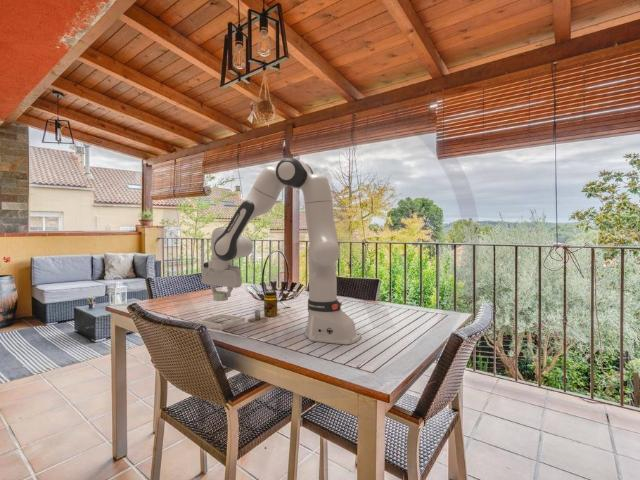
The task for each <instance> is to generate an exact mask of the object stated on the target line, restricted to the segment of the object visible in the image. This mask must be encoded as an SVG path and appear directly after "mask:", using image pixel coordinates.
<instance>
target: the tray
mask: <svg viewBox="0 0 640 480" xmlns="http://www.w3.org/2000/svg"><path fill="white" fill-rule="evenodd" d="M219 319H229V320H231V321H229V322H225V323H223V324H222V323H217V322H212V321H214V320H219ZM243 322H246V317H244V316H238V315H234V314H233V315H232V314H227V313H218V314H214V315H212V316H209V317H205V318H202V319H198V320H197V324H198V323H202V324H205V325H206V326H205V327H209V328H215V329H219V330H223V329H227V328H230V327H232V326H235V325H237V324H241V323H243Z"/></svg>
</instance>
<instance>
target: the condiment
mask: <svg viewBox="0 0 640 480" xmlns="http://www.w3.org/2000/svg"><path fill="white" fill-rule="evenodd" d="M263 305H264V307H263V308H264V309H263V313H264V314H263V315H264V318H275V317H277V316H278V298H277V292H276V291H272V290H271V291H266V292H265V293H264V299H263Z"/></svg>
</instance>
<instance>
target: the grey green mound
mask: <svg viewBox="0 0 640 480" xmlns="http://www.w3.org/2000/svg"><path fill="white" fill-rule="evenodd" d="M247 322H249V323H253V324H259V323H261V324H262V323H265V322H268V317H263V316H262V317H261V309H255V310H254V317H251V318H249V319H247Z"/></svg>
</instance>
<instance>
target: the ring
mask: <svg viewBox="0 0 640 480" xmlns="http://www.w3.org/2000/svg"><path fill="white" fill-rule="evenodd" d="M216 291H217V292H214V295H213V301H215V302H226V301H229V297H225V293H227V291H225V290H222V291H221V290H220V291H218V290H216Z"/></svg>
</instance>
